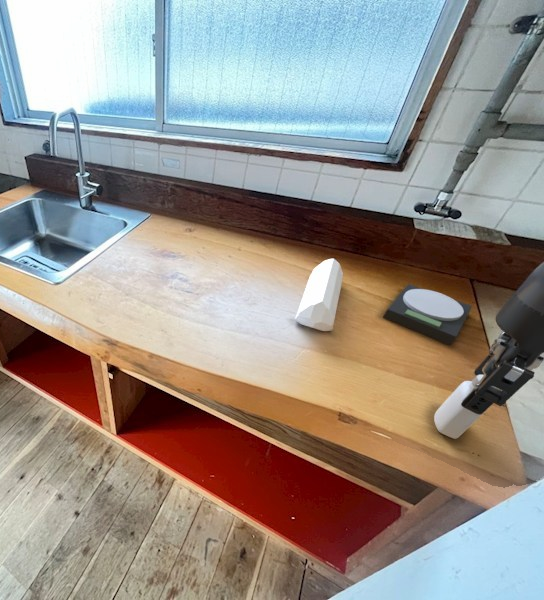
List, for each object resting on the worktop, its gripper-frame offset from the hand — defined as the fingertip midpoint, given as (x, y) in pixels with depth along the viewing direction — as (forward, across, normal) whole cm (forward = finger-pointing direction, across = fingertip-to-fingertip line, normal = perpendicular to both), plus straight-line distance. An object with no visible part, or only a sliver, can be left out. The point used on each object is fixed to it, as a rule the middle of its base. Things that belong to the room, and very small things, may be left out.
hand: (476, 391), depth 46 cm
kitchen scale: (+8, +28, +10) cm, 31 cm away
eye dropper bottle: (+8, 0, 0) cm, 8 cm away
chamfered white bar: (+8, +16, +28) cm, 33 cm away
